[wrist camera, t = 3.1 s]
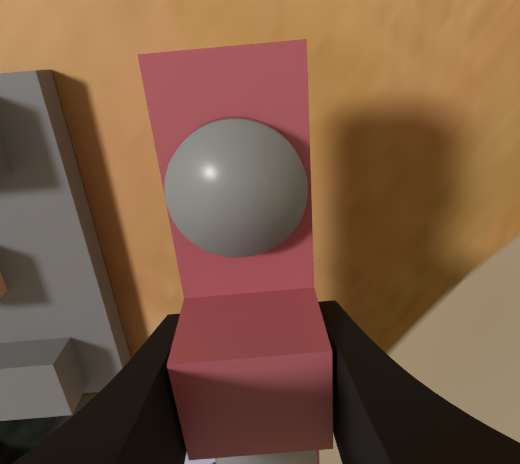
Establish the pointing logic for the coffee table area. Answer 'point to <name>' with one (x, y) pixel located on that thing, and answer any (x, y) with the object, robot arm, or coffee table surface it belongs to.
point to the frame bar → (242, 251)
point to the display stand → (49, 263)
